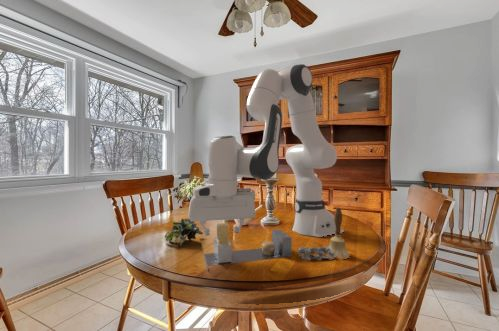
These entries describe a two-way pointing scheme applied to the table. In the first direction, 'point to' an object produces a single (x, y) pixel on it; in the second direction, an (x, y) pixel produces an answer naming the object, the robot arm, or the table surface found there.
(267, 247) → the hazelnut
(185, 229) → the passion flower
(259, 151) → the robot arm
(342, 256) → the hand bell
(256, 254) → the press base
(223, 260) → the block
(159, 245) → the table surface
